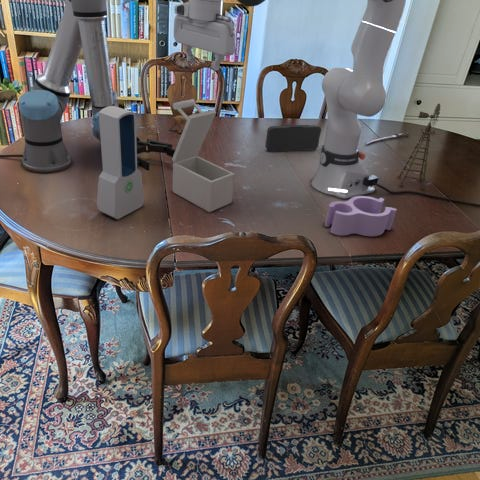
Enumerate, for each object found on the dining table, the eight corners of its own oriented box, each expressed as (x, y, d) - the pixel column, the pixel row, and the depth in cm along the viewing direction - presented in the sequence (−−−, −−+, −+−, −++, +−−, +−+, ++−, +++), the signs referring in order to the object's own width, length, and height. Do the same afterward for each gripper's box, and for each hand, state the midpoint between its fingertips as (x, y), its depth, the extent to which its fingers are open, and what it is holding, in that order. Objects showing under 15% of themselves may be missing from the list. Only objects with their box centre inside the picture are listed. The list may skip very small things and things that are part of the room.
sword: (404, 132, 222) (404, 130, 221) (409, 135, 220) (410, 132, 219) (360, 144, 206) (361, 142, 205) (366, 147, 204) (366, 144, 203)
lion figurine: (200, 128, 202) (201, 108, 197) (204, 133, 198) (205, 112, 193) (167, 129, 197) (167, 108, 192) (170, 134, 193) (170, 113, 188)
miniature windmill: (423, 190, 169) (451, 109, 153) (399, 186, 170) (425, 105, 154) (420, 180, 177) (446, 101, 161) (397, 176, 178) (421, 97, 162)
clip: (337, 240, 135) (342, 219, 131) (318, 218, 145) (322, 198, 141) (395, 233, 141) (402, 213, 137) (373, 213, 151) (378, 194, 147)
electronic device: (115, 221, 132) (108, 118, 116) (96, 212, 135) (87, 110, 119) (145, 205, 142) (142, 107, 125) (126, 197, 145) (122, 101, 128)
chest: (232, 202, 149) (234, 173, 143) (209, 212, 142) (211, 182, 137) (195, 183, 158) (196, 155, 152) (172, 191, 151) (172, 163, 146)
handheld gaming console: (315, 147, 196) (319, 124, 190) (317, 149, 194) (322, 126, 188) (264, 149, 189) (267, 125, 183) (266, 152, 187) (269, 127, 181)
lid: (216, 112, 139) (197, 92, 142) (191, 118, 133) (171, 97, 135) (197, 154, 152) (180, 136, 154) (174, 162, 145) (156, 142, 147)
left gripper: (152, 144, 177) (191, 162, 166) (95, 160, 160) (134, 181, 149) (152, 125, 173) (192, 142, 162) (94, 139, 156) (134, 160, 145)
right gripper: (243, 17, 119) (238, 73, 126) (187, 5, 129) (185, 57, 137) (226, 18, 115) (222, 76, 122) (170, 5, 125) (169, 59, 133)
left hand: (164, 161), depth 155 cm, fingers open, 13 cm apart
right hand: (202, 66), depth 130 cm, fingers open, 8 cm apart
